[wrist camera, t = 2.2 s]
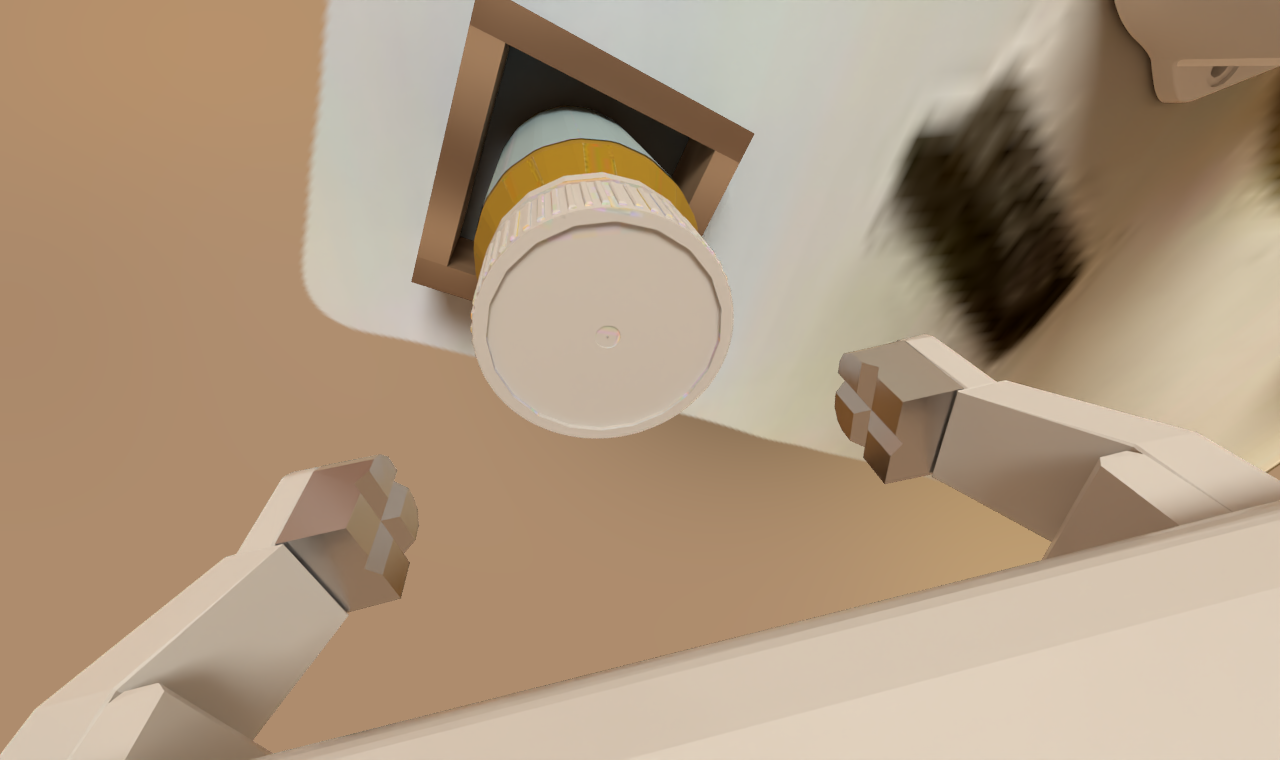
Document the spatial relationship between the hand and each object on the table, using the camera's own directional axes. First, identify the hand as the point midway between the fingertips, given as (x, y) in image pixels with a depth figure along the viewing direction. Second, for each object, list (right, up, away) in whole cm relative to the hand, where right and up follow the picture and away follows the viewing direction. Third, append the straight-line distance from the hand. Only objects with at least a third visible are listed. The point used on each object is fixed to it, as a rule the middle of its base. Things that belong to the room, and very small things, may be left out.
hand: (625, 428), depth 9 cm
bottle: (-3, +10, +15) cm, 18 cm away
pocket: (-3, +10, +15) cm, 18 cm away
